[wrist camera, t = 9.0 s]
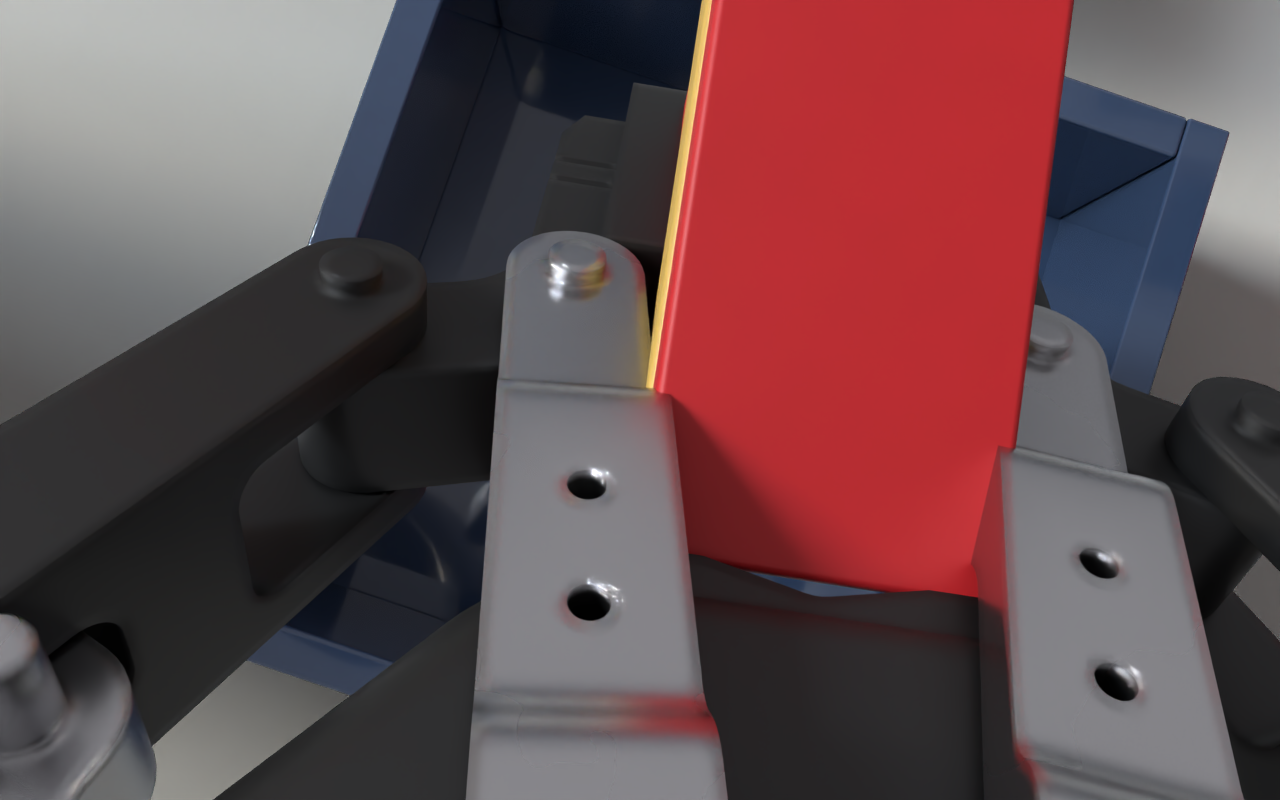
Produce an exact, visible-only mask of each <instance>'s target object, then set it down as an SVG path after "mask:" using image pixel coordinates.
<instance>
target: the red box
mask: <svg viewBox="0 0 1280 800" xmlns="http://www.w3.org/2000/svg"><path fill="white" fill-rule="evenodd" d="M1073 4H1074V0H702V3H701V10H700V16H699V23H698V29H697V36H696V42H695V49H694V55H693V62H692V68H691V75H690V82H689V87H688V91H687V96H686V100H685V105H684V113H683V121H682V130H681V139H680V147H679V154H678V160H677V167H676V173H675V180H674V186H673V193H672V199H671V206H670V212H669V219H668V226H667V232H666V239H665V245H664V252H663V258H662V265H661V271H660V278H659V284H658V291H657V298H656V304H655V311H654V317H653V324H652V330H651V337H650V338H651V350H650V359H649V367H648V375H647V383H646V387H647V388H655V389H656V390H657V391H658V392H661V393H665V394H670V396H671V401H672V409H673V418H674V427H675V436H676V445H677V454H678V464H679V473H680V482H681V491H682V500H683V509H684V518H685V527H686V537H687V546H688V553H689V554H696V555H702V556H705V557H708V558H711V559H714V560H716V561H719V562H722V563H725V564H727V565H730V566H733V567H735V568H738V569H741V570H744V571H746V572H750V573H757V574H763V575H770V576H777V577H783V578H790V579H797V580H803V581H810V582H816V583H823V584H830V585H836V586H843V587H850V588H856V589H863V590H869V591H876V592H883V593H892V592H907V591H922V590H933V591H939V592H946V593H952V594H959V595H966V596H972V597H978V584H977V576H976V572H975V570H974V567H973V566H972V565H971V560H972V556H973V551H974V547H975V543H976V538H977V534H978V530H979V525H980V521H981V517H982V513H983V508H984V504H985V500H986V495H987V491H988V487H989V482H990V478H991V474H992V470H993V465H994V461H995V457H996V452H997V448H998V446H1003V447H1008V448H1016V442H1017V434H1018V427H1019V419H1020V411H1021V404H1022V396H1023V388H1024V381H1025V373H1026V365H1027V358H1028V350H1029V342H1030V335H1031V327H1032V319H1033V312H1034V304H1035V296H1036V289H1037V281H1038V273H1039V266H1040V258H1041V250H1042V242H1043V235H1044V227H1045V219H1046V212H1047V204H1048V196H1049V189H1050V181H1051V173H1052V166H1053V158H1054V150H1055V143H1056V135H1057V127H1058V120H1059V112H1060V104H1061V97H1062V89H1063V81H1064V74H1065V66H1066V58H1067V51H1068V43H1069V35H1070V28H1071V20H1072V12H1073Z"/></svg>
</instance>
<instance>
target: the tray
mask: <svg viewBox="0 0 1280 800" xmlns="http://www.w3.org/2000/svg"><path fill="white" fill-rule="evenodd" d="M701 3H702V0H396V3H395V6H394V8H393V11H392V14H391V17H390V19H389V22H388V25H387V28H386V30H385V33H384V36H383V39H382V41H381V44H380V47H379V50H378V52H377V55H376V58H375V61H374V63H373V66H372V69H371V72H370V74H369V77H368V80H367V83H366V85H365V88H364V91H363V94H362V96H361V99H360V102H359V105H358V107H357V110H356V113H355V116H354V118H353V121H352V124H351V127H350V130H349V132H348V135H347V138H346V141H345V143H344V146H343V149H342V152H341V154H340V157H339V160H338V163H337V165H336V168H335V171H334V174H333V176H332V179H331V182H330V185H329V187H328V190H327V193H326V196H325V198H324V201H323V204H322V207H321V209H320V212H319V215H318V218H317V220H316V223H315V226H314V229H313V231H312V234H311V237H310V240H309V242H308V245H311V244H314V243H316V242H320V241H324V240H329V239H336V238H351V237H357V238H369V239H375V240H380V241H384V242H387V243H391V244H393V245H396V246H398V247H400V248H402V249H404V250H406V251H407V252H409V253H410V254H412V255H413V256H414V257H415V258H417V260H418V261H419V262H420V263H421V264H422V266H423V268H424V270H425V272H426V277H427V283H440V282H460V281H470V280H476V279H481V278H486V277H489V276H492V275H496V274H498V273H500V272H502V271H505V270H506V265H507V260H508V257H509V255H510V253H511V251H512V250H513V249H514V248H515V247H516V246H517V245H518V244H520V243H521V242H523V241H524V240H526V239H528V238H531V237H532V234H533V231H534V228H535V224H536V221H537V217H538V214H539V211H540V207H541V204H542V200H543V197H544V194H545V190H546V187H547V183H548V180H549V179H550V173H551V170H552V166H553V163H554V160H555V157H556V153H557V149H558V146H559V142H560V139H561V136H562V133H563V132H564V131H565V130H566V129H568V128H569V127H570V126H572V125H573V124H574V123H576V122H577V121H578V120H580V119H581V118H582V117H584V116H585V115H587V116H593V117H599V118H605V119H612V120H618V121H624V122H626V117H627V112H628V107H629V102H630V97H631V92H632V87H633V83H640V84H646V85H652V86H659V87H665V88H671V89H677V90H683V91H688V87H689V82H690V75H691V68H692V62H693V55H694V49H695V42H696V36H697V29H698V23H699V16H700V10H701ZM1228 136H1229V132H1228V131H1225V130H1222V129H1219V128H1217V127H1214V126H1211V125H1208V124H1205V123H1202V122H1199V121H1196V120H1193V119H1188V120H1187V121H1186V118H1184V117H1182V116H1179V115H1176V114H1173V113H1170V112H1167V111H1164V110H1161V109H1158V108H1156V107H1153V106H1150V105H1147V104H1144V103H1141V102H1138V101H1135V100H1132V99H1129V98H1126V97H1124V96H1121V95H1118V94H1115V93H1112V92H1109V91H1106V90H1103V89H1100V88H1097V87H1094V86H1091V85H1089V84H1086V83H1083V82H1080V81H1077V80H1074V79H1071V78H1068V77H1065V76H1064V81H1063V89H1062V97H1061V104H1060V112H1059V120H1058V127H1057V135H1056V143H1055V150H1054V158H1053V166H1052V173H1051V181H1050V189H1049V196H1048V204H1047V212H1046V219H1045V227H1044V235H1043V242H1042V250H1041V258H1040V266H1039V276H1040V279H1041V282H1042V285H1043V287H1044V290H1045V293H1046V296H1047V299H1048V302H1049V305H1050V307H1051V310H1053V311H1055V312H1058V313H1060V314H1062V315H1064V316H1066V317H1068V318H1070V319H1071V320H1073V321H1074V322H1076V323H1078V324H1079V325H1080V326H1082V327H1083V328H1084V329H1086V330H1087V331H1088V332H1089V333H1090V334H1091V335H1092V336H1093V337H1094V338H1095V339H1096V340H1097V342H1098V343H1099V344H1100V346H1101V347H1102V349H1103V351H1104V353H1105V356H1106V359H1107V365H1108V370H1109V375H1110V379H1112V380H1114V381H1116V382H1117V383H1120V384H1122V385H1125V386H1127V387H1130V388H1132V389H1135V390H1138V391H1140V392H1143V393H1146V394H1150V391H1151V387H1152V384H1153V381H1154V378H1155V374H1156V371H1157V368H1158V365H1159V361H1160V358H1161V355H1162V351H1163V348H1164V345H1165V342H1166V338H1167V335H1168V332H1169V329H1170V325H1171V322H1172V319H1173V316H1174V312H1175V309H1176V306H1177V303H1178V299H1179V296H1180V293H1181V290H1182V286H1183V283H1184V280H1185V277H1186V273H1187V270H1188V267H1189V264H1190V260H1191V257H1192V254H1193V250H1194V247H1195V244H1196V241H1197V237H1198V234H1199V231H1200V228H1201V224H1202V221H1203V218H1204V215H1205V211H1206V208H1207V205H1208V202H1209V198H1210V195H1211V192H1212V189H1213V185H1214V182H1215V179H1216V176H1217V172H1218V169H1219V166H1220V163H1221V159H1222V156H1223V153H1224V150H1225V146H1226V143H1227V140H1228ZM308 245H307V246H308ZM489 486H490V480H488V481H478V482H469V483H459V484H449V485H440V486H430V487H426V490H425V493H424V495H423V496H422V498H421V500H420V501H419V502H418V503H417V504H416V506H415V507H414V508H413V509H412V510H410V511H409V512H408V513H407V514H406V515H405V516H404V517H403V518H402V519H401V520H400V521H398V522H397V523H396V524H395V525H394V526H393V527H392V528H391V529H390V530H389V531H387V532H386V533H385V534H384V535H383V536H382V537H381V538H380V539H379V540H378V541H376V542H375V543H374V544H373V545H372V546H371V547H370V548H369V549H368V550H367V551H366V552H364V553H363V554H362V555H361V556H360V557H359V558H358V559H357V560H356V561H355V562H353V563H352V564H351V565H350V566H349V567H348V568H347V569H346V570H345V571H344V572H342V573H341V574H340V575H339V576H338V577H337V578H336V579H335V580H334V581H333V582H332V583H330V584H329V585H328V586H327V587H326V588H325V589H324V590H323V591H322V592H321V593H319V594H318V595H317V596H316V597H315V598H314V599H313V600H312V601H311V602H310V603H308V604H307V605H306V606H305V607H304V608H303V609H302V610H301V611H300V612H299V613H297V614H296V615H295V616H294V617H293V618H292V619H291V620H290V621H289V622H288V623H287V624H285V625H284V626H283V627H282V628H281V629H280V630H279V631H278V632H277V633H276V634H274V635H273V636H272V637H271V638H270V639H269V640H268V641H267V642H266V643H265V644H263V645H262V646H261V647H260V648H259V649H258V650H257V651H256V652H255V653H254V654H253V655H251V656H250V657H249V658H248V659H247V660H246V661H248V662H251V663H254V664H257V665H260V666H263V667H266V668H269V669H272V670H275V671H278V672H281V673H284V674H287V675H290V676H293V677H296V678H299V679H302V680H305V681H308V682H311V683H314V684H317V685H320V686H323V687H326V688H329V689H332V690H335V691H338V692H341V693H344V694H347V695H350V696H351V695H352V694H353V693H355V692H356V691H357V690H359V689H360V688H361V687H363V686H364V685H365V684H367V683H368V682H369V681H371V680H372V679H373V678H375V677H376V676H377V675H378V674H380V673H381V672H382V671H384V670H385V669H386V668H388V667H389V666H390V665H392V664H393V663H394V662H396V661H397V660H398V659H400V658H401V657H402V656H403V655H405V654H406V653H407V652H409V651H410V650H411V649H413V648H414V647H415V646H417V645H418V644H419V643H421V642H422V641H423V640H425V639H426V638H427V637H428V636H430V635H431V634H432V633H434V632H435V631H436V630H438V629H439V628H440V627H442V626H443V625H444V624H446V623H447V622H448V621H450V620H451V619H453V618H454V617H455V616H457V615H458V614H460V613H461V612H463V611H464V610H466V609H468V608H469V607H471V606H473V605H475V604H477V603H478V602H480V601H481V595H482V582H483V568H484V554H485V541H486V527H487V513H488V500H489ZM749 573H750V572H749ZM752 574H755V575H757V576H760V577H763V578H766V579H768V580H771V581H774V582H777V583H779V584H782V585H785V586H787V587H790V588H793V589H796V590H798V591H801V592H804V593H807V594H810V595H814V596H821V597H833V596H848V595H863V594H877V593H883V592H876V591H869V590H863V589H856V588H850V587H843V586H836V585H830V584H823V583H816V582H810V581H803V580H797V579H790V578H783V577H777V576H770V575H763V574H757V573H752Z"/></svg>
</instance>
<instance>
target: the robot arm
mask: <svg viewBox="0 0 1280 800" xmlns="http://www.w3.org/2000/svg"><path fill="white" fill-rule="evenodd" d="M686 96H687V91H683V90H677V89H671V88H665V87H659V86H652V85H646V84H640V83H633V87H632V92H631V97H630V102H629V107H628V112H627V117H626V122H624V121H618V120H612V119H605V118H599V117H593V116H587V115H585V116H584V117H582V118H581V119H580V120H578V121H577V122H576V123H574V124H573V125H572V126H570V127H569V128H568V129H566V130H565V131H564V132H563V133H562V136H561V139H560V142H559V146H558V149H557V153H556V157H555V160H554V163H553V166H552V170H551V173H550V179H549V180H548V183H547V187H546V190H545V194H544V197H543V200H542V204H541V207H540V211H539V214H538V217H537V221H536V224H535V228H534V231H533V234H532V237H531V238H528V239H526V240H524V241H523V242H521V243H520V244H518V245H517V246H516V247H515V248H514V249H513V250H512V251H511V253H510V255H509V257H508V260H507V265H506V270H505V271H502V272H500V273H498V274H496V275H492V276H489V277H486V278H481V279H476V280H470V281H460V282H440V283H427V277H426V272H425V270H424V268H423V266H422V264H421V263H420V262H419V261H418V260H417V258H415V257H414V256H413V255H412V254H410V253H409V252H407V251H406V250H404V249H402V248H400V247H398V246H396V245H393V244H391V243H387V242H384V241H380V240H375V239H369V238H357V237H351V238H336V239H329V240H324V241H320V242H316V243H314V244H311V245H308V246H306V247H304V248H302V249H300V250H298V251H296V252H294V253H292V254H291V255H289V256H287V257H286V258H284V259H282V260H280V261H279V262H277V263H275V264H274V265H272V266H270V267H269V268H267V269H265V270H263V271H262V272H260V273H258V274H257V275H255V276H253V277H252V278H250V279H248V280H246V281H245V282H243V283H241V284H240V285H238V286H236V287H234V288H233V289H231V290H229V291H228V292H226V293H224V294H223V295H221V296H219V297H217V298H216V299H214V300H212V301H211V302H209V303H207V304H206V305H204V306H202V307H200V308H199V309H197V310H195V311H194V312H192V313H190V314H189V315H187V316H185V317H183V318H182V319H180V320H178V321H177V322H175V323H173V324H172V325H170V326H168V327H166V328H165V329H163V330H161V331H160V332H158V333H156V334H155V335H153V336H151V337H149V338H148V339H146V340H144V341H143V342H141V343H139V344H138V345H136V346H134V347H132V348H131V349H129V350H127V351H126V352H124V353H122V354H121V355H119V356H117V357H115V358H114V359H112V360H110V361H109V362H107V363H105V364H104V365H102V366H100V367H98V368H97V369H95V370H93V371H92V372H90V373H88V374H87V375H85V376H83V377H81V378H80V379H78V380H76V381H75V382H73V383H71V384H70V385H68V386H66V387H64V388H63V389H61V390H59V391H58V392H56V393H54V394H53V395H51V396H49V397H47V398H46V399H44V400H42V401H41V402H39V403H37V404H35V405H34V406H32V407H30V408H29V409H27V410H25V411H24V412H22V413H20V414H18V415H17V416H15V417H13V418H12V419H10V420H8V421H7V422H5V423H3V424H1V425H0V800H150V799H151V797H152V794H153V790H154V786H155V782H156V760H155V754H154V751H153V748H152V746H153V745H154V744H155V743H156V742H157V741H158V740H159V739H160V738H161V737H163V736H164V735H165V734H166V733H167V732H168V731H169V730H170V729H171V728H172V727H174V726H175V725H176V724H177V723H178V722H179V721H180V720H181V719H182V718H183V717H184V716H186V715H187V714H188V713H189V712H190V711H191V710H192V709H193V708H194V707H195V706H197V705H198V704H199V703H200V702H201V701H202V700H203V699H204V698H205V697H206V696H208V695H209V694H210V693H211V692H212V691H213V690H214V689H215V688H216V687H217V686H218V685H220V684H221V683H222V682H223V681H224V680H225V679H226V678H227V677H228V676H229V675H231V674H232V673H233V672H234V671H235V670H236V669H237V668H238V667H239V666H240V665H242V664H243V663H244V662H245V661H246V660H247V659H248V658H249V657H250V656H251V655H253V654H254V653H255V652H256V651H257V650H258V649H259V648H260V647H261V646H262V645H263V644H265V643H266V642H267V641H268V640H269V639H270V638H271V637H272V636H273V635H274V634H276V633H277V632H278V631H279V630H280V629H281V628H282V627H283V626H284V625H285V624H287V623H288V622H289V621H290V620H291V619H292V618H293V617H294V616H295V615H296V614H297V613H299V612H300V611H301V610H302V609H303V608H304V607H305V606H306V605H307V604H308V603H310V602H311V601H312V600H313V599H314V598H315V597H316V596H317V595H318V594H319V593H321V592H322V591H323V590H324V589H325V588H326V587H327V586H328V585H329V584H330V583H332V582H333V581H334V580H335V579H336V578H337V577H338V576H339V575H340V574H341V573H342V572H344V571H345V570H346V569H347V568H348V567H349V566H350V565H351V564H352V563H353V562H355V561H356V560H357V559H358V558H359V557H360V556H361V555H362V554H363V553H364V552H366V551H367V550H368V549H369V548H370V547H371V546H372V545H373V544H374V543H375V542H376V541H378V540H379V539H380V538H381V537H382V536H383V535H384V534H385V533H386V532H387V531H389V530H390V529H391V528H392V527H393V526H394V525H395V524H396V523H397V522H398V521H400V520H401V519H402V518H403V517H404V516H405V515H406V514H407V513H408V512H409V511H410V510H412V509H413V508H414V507H415V506H416V504H417V503H418V502H419V501H420V500H421V498H422V496H423V495H424V493H425V490H426V487H430V486H440V485H449V484H459V483H469V482H478V481H488V480H490V486H489V500H488V513H487V527H486V541H485V554H484V568H483V582H482V595H481V601H480V602H478V603H477V604H475V605H473V606H471V607H469V608H468V609H466V610H464V611H463V612H461V613H460V614H458V615H457V616H455V617H454V618H453V619H451V620H450V621H448V622H447V623H446V624H444V625H443V626H442V627H440V628H439V629H438V630H436V631H435V632H434V633H432V634H431V635H430V636H428V637H427V638H426V639H425V640H423V641H422V642H421V643H419V644H418V645H417V646H415V647H414V648H413V649H411V650H410V651H409V652H407V653H406V654H405V655H403V656H402V657H401V658H400V659H398V660H397V661H396V662H394V663H393V664H392V665H390V666H389V667H388V668H386V669H385V670H384V671H382V672H381V673H380V674H378V675H377V676H376V677H375V678H373V679H372V680H371V681H369V682H368V683H367V684H365V685H364V686H363V687H361V688H360V689H359V690H357V691H356V692H355V693H353V694H352V695H351V696H350V697H348V698H347V699H346V700H344V701H343V702H342V703H340V704H339V705H338V706H336V707H335V708H334V709H332V710H331V711H330V712H328V713H327V714H326V715H324V716H323V717H322V718H320V719H319V720H318V721H316V722H315V723H314V724H313V725H311V726H310V727H309V728H307V729H306V730H305V731H303V732H302V733H301V734H299V735H298V736H297V737H295V738H294V739H293V740H291V741H290V742H289V743H287V744H286V745H285V746H283V747H282V748H281V749H279V750H278V751H277V752H275V753H274V754H273V755H272V756H270V757H269V758H268V759H266V760H265V761H264V762H262V763H261V764H260V765H258V766H257V767H256V768H254V769H253V770H252V771H250V772H249V773H248V774H246V775H245V776H244V777H242V778H241V779H240V780H238V781H237V782H236V783H234V784H233V785H232V786H231V787H229V788H228V789H227V790H225V791H224V792H223V793H221V794H220V795H219V796H217V797H216V798H215V799H213V800H1280V641H1279V640H1278V639H1277V638H1276V637H1275V636H1274V635H1273V634H1272V632H1271V631H1270V630H1269V629H1268V628H1267V627H1266V626H1265V625H1264V624H1263V623H1262V622H1261V621H1260V620H1259V619H1258V618H1257V616H1256V615H1255V614H1254V613H1253V612H1252V611H1251V610H1250V609H1249V608H1248V607H1247V606H1246V605H1245V604H1244V603H1243V601H1242V600H1241V599H1240V598H1239V597H1238V596H1237V595H1236V594H1235V593H1234V592H1233V589H1234V588H1235V587H1236V586H1237V585H1238V583H1239V582H1240V581H1241V580H1242V578H1243V577H1244V576H1245V575H1246V574H1247V572H1248V571H1249V570H1250V569H1251V568H1252V566H1253V565H1254V564H1255V563H1256V562H1257V560H1258V559H1259V558H1260V557H1261V555H1262V554H1263V555H1264V556H1265V557H1266V558H1267V559H1268V560H1269V561H1270V562H1271V563H1272V564H1273V565H1274V566H1275V567H1276V568H1277V569H1278V570H1279V571H1280V392H1279V391H1277V390H1275V389H1273V388H1270V387H1268V386H1265V385H1262V384H1259V383H1256V382H1253V381H1249V380H1245V379H1239V378H1233V377H1216V378H1210V379H1206V380H1203V381H1202V382H1200V383H1198V384H1197V385H1196V386H1195V387H1194V388H1193V389H1192V391H1191V392H1190V394H1189V395H1188V397H1187V398H1186V400H1185V401H1184V403H1183V404H1182V406H1179V405H1176V404H1173V403H1170V402H1168V401H1165V400H1162V399H1159V398H1157V397H1154V396H1151V395H1149V394H1146V393H1143V392H1140V391H1138V390H1135V389H1132V388H1130V387H1127V386H1125V385H1122V384H1120V383H1117V382H1116V381H1114V380H1112V379H1110V375H1109V370H1108V365H1107V359H1106V356H1105V353H1104V351H1103V349H1102V347H1101V346H1100V344H1099V343H1098V342H1097V340H1096V339H1095V338H1094V337H1093V336H1092V335H1091V334H1090V333H1089V332H1088V331H1087V330H1086V329H1084V328H1083V327H1082V326H1080V325H1079V324H1078V323H1076V322H1074V321H1073V320H1071V319H1070V318H1068V317H1066V316H1064V315H1062V314H1060V313H1058V312H1055V311H1053V310H1051V307H1050V305H1049V302H1048V299H1047V296H1046V293H1045V290H1044V287H1043V285H1042V282H1041V279H1040V276H1039V273H1038V281H1037V289H1036V296H1035V304H1034V312H1033V319H1032V327H1031V335H1030V342H1029V350H1028V358H1027V365H1026V373H1025V381H1024V388H1023V396H1022V404H1021V411H1020V419H1019V427H1018V434H1017V442H1016V448H1008V447H1003V446H998V448H997V452H996V457H995V461H994V465H993V470H992V474H991V478H990V482H989V487H988V491H987V495H986V500H985V504H984V508H983V513H982V517H981V521H980V525H979V530H978V534H977V538H976V543H975V547H974V551H973V556H972V560H971V565H972V566H973V567H974V570H975V572H976V576H977V584H978V597H972V596H966V595H959V594H952V593H946V592H939V591H933V590H922V591H907V592H892V593H877V594H863V595H848V596H833V597H821V596H814V595H810V594H807V593H804V592H801V591H798V590H796V589H793V588H790V587H787V586H785V585H782V584H779V583H777V582H774V581H771V580H768V579H766V578H763V577H760V576H757V575H755V574H752V573H749V572H746V571H744V570H741V569H738V568H735V567H733V566H730V565H727V564H725V563H722V562H719V561H716V560H714V559H711V558H708V557H705V556H702V555H696V554H689V553H688V546H687V537H686V527H685V518H684V509H683V500H682V491H681V482H680V473H679V464H678V454H677V445H676V436H675V427H674V418H673V409H672V401H671V396H670V394H665V393H661V392H658V391H657V390H656V389H655V388H647V387H646V383H647V375H648V367H649V359H650V350H651V338H650V337H651V330H652V324H653V317H654V311H655V304H656V298H657V291H658V284H659V278H660V271H661V265H662V258H663V252H664V245H665V239H666V232H667V226H668V219H669V212H670V206H671V199H672V193H673V186H674V180H675V173H676V167H677V160H678V154H679V147H680V139H681V130H682V121H683V113H684V105H685V100H686Z"/></svg>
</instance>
